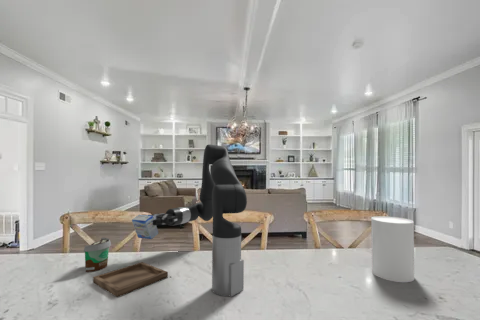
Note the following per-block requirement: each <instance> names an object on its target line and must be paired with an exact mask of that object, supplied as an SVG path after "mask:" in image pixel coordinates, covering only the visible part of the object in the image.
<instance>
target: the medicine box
mask: <svg viewBox="0 0 480 320" xmlns="http://www.w3.org/2000/svg"><path fill="white" fill-rule="evenodd" d="M150 215H151V214H147V215H146V214H138V215H136V216H134V217H133V218H132V219H131V223H132V226H133V228H134V230H135V233H136V236H137V238H138V239H147V240H152V239H154V238H155V237H156V236H157V235H158V234H159V230H158V227H157V225H153V220H154V218H153V216H150Z"/></svg>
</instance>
